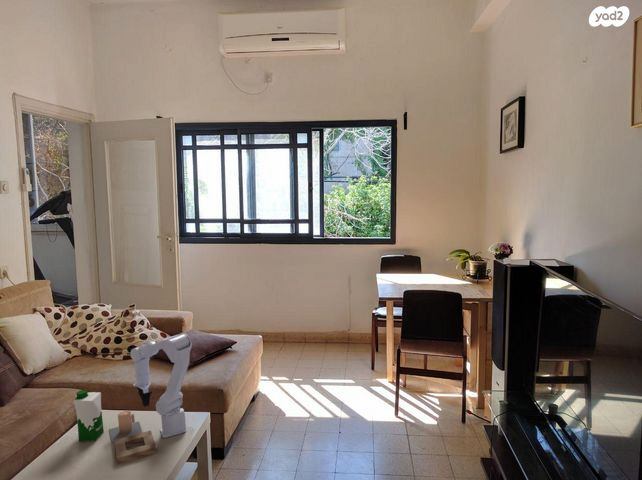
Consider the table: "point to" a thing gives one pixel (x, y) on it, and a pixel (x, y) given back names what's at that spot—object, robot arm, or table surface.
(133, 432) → the grey square plate
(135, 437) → the block
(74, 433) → the table surface
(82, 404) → the milk carton
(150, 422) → the table surface
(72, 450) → the table surface
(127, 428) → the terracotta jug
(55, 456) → the table surface
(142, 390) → the robot arm
